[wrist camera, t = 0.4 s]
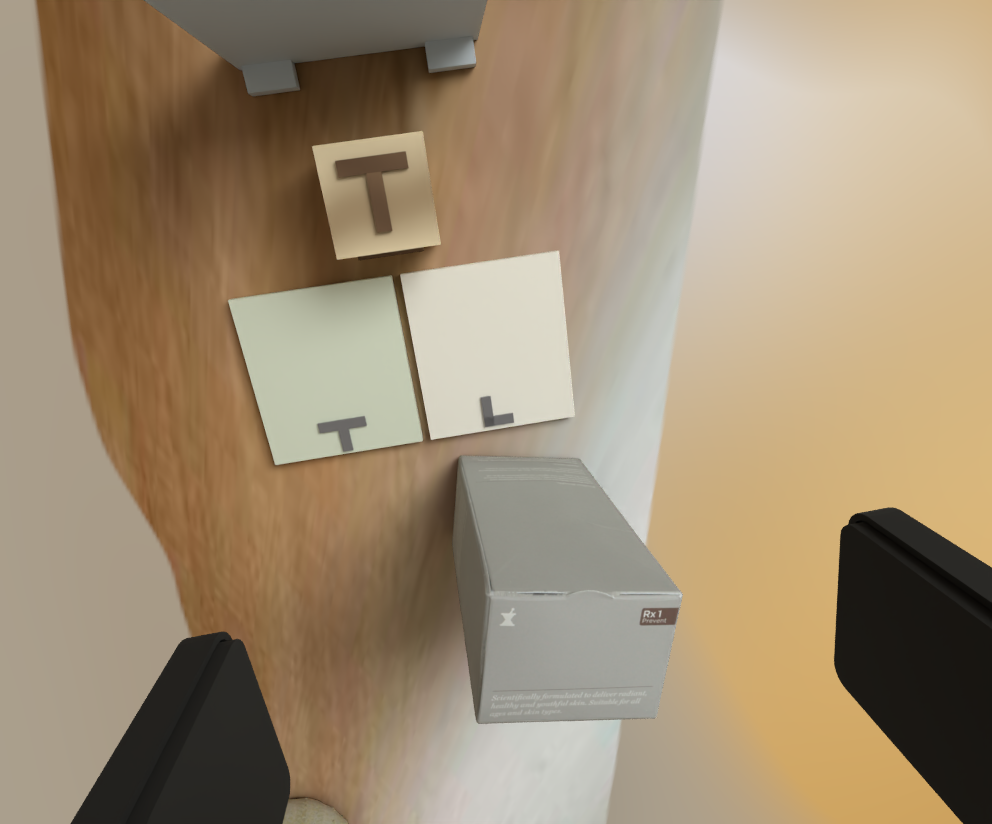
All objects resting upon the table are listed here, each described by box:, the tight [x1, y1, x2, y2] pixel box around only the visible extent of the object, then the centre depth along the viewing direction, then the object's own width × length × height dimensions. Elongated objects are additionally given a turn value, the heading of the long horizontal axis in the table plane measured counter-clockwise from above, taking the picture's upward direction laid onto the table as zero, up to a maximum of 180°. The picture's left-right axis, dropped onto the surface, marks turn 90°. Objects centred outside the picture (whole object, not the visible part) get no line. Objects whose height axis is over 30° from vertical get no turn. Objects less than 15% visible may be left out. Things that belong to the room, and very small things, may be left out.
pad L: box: [400, 251, 575, 440], centre depth 35 cm, size 10×9×1 cm
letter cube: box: [312, 131, 441, 260], centre depth 30 cm, size 5×5×5 cm
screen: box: [144, 0, 487, 96], centre depth 24 cm, size 4×12×11 cm, turn 98°
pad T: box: [228, 275, 423, 465], centre depth 34 cm, size 10×9×1 cm
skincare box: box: [452, 456, 683, 724], centre depth 31 cm, size 8×7×16 cm
